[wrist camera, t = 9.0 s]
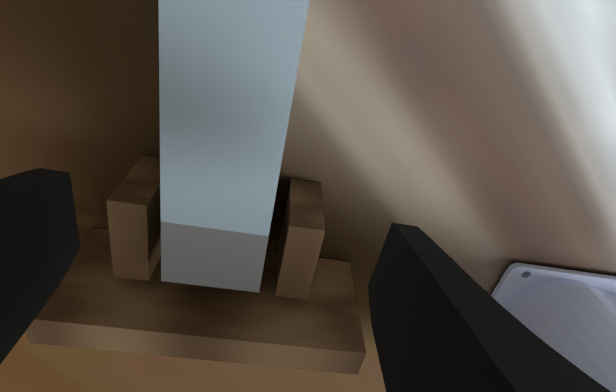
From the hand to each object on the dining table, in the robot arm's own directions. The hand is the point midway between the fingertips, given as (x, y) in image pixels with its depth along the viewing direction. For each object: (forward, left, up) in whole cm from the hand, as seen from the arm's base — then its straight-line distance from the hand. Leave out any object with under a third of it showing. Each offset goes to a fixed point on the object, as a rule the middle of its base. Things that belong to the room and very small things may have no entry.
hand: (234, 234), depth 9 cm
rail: (+1, -2, -10) cm, 10 cm away
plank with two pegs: (+1, +7, -9) cm, 12 cm away
